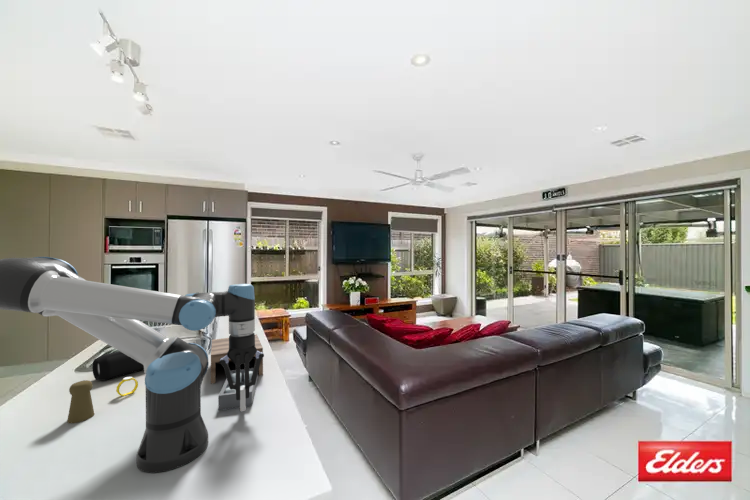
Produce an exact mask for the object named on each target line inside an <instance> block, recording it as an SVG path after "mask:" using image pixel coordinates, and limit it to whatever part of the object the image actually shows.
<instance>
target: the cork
mask: <svg viewBox="0 0 750 500" xmlns="http://www.w3.org/2000/svg"><path fill="white" fill-rule="evenodd" d="M93 386H94V385H93V382H92V381H91V380H86V379H85V380H80V381H76V382H75V383H72V384H71V385H70V387H69V390H68V392H69V394H70V396H71V398H70V403H69V408H68V409H69V411H68V414H67V423H68V424H77V423H78V424H79V423H82V422H84V421H87V420H88V421H89V419H91V418H93V417H94V416H95V411H94V410H95V409H94V405H93V399H92V394H91V393H92V392H91V391H92V389H93Z"/></svg>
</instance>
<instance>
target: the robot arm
mask: <svg viewBox="0 0 750 500" xmlns="http://www.w3.org/2000/svg"><path fill="white" fill-rule="evenodd" d="M78 273H79V272H78V271H77V270H76V268H75V267H74V266H73V265H72V264H70V263H69V262H67V261H65V260H63V259H60V258H55V257H49V256H35V257H9V258H8V257H7V258H1V259H0V310H2V311H3V310H5V311H15V312H24V313H32V314H33V313H34V314H39V315H41V316H43V317H54V316H57V317H59V318H61V319H63V320H65V321H66V322H68V323H69V324H71V325H73V326H74V327H77V328H78V329H80V330H82V331H83V332H85V333H87V334H89V335H91V336H93V337H94V338H96V339H98V340H100V341H101V342H103V343H104V344H107V345H108V346H109V347H112V348H113V349H115V350H117V351H120V352H122V353H124V354H126V355H127V356H129V357H131V358H133V359H134V360H136V361H138V362H140V363H141V364H143V365H144V370H143V373H144V374H145V377H144V385H145V431H144V433H143V436H142V438H141V441H140V443H139V448H138V450H137V452H136V453H137V454H136V467H137V468H138V470H140V471H141V472H144V473H162V472H167V471H171V470H174V469H177V468H180V467H182V466H184V465H187V464H189V463H191V462H192V461H194V460H195V459H197V458H199V456H201V455H202V454H203V453H205V451H206V449H207V447H208V445H209V431H208V428H207V427H206V424H205V422H204V419H203V417H202V415H201V413H202V412H201V411H202V410H201V408H202V407H201V405H202V403H201V402H202V401H201V400H202V399H201V398H202V397H201V389H202V383H203V381H204V378H205V376H206V374H207V371H208V368H209V363H210V361H209V356H208V352H207V351H206V349H205V348H204V347H203V346H202V345H200V344H198V343H194V342H187V341H185V340H183V339H182V338H180V337H178V336H173V337H172V336H171V337H167V336H165V335H164V334H162V333H161V332H159V331H157V330H156V329H154V328H153V327H151V326H150V325H148V324H145V323H144V322H151V323H158V324H159V323H160V324H169V325H176V326H182V327H184V328H185V329H187V330H189V331H195V332H196V331H201V330H203V329H206V327H208V326H209V325H210V324H212V322H213V321H214V319H215V318H218V317H227V316H228V334H229V335H228V338H229V350H228V352H227V355H226V356H225V357H223V358H220V364H219V365H221V367H223V369H224V373H225V374H224V375H225V376H226V379H227V381H228V384H229V388H230V389H231V390H232V389H235V390H236V400H240V408H239V410H240V412H244V411H245V412H246V409H247V408H246V398H249V388H250V386H252V385H255V383H256V379H257V375H258V376H259V373H258V371H259V366H260V362H261V360H262V358H263V359H264V357H265V354H264V351H263V352H259V351H257V349H256V347H255V335H256V333H255V331H256V328H255V327H256V325H255V324H256V322H255V321H256V320H255V318H256V317H255V315H256V314H255V313H256V307H255V304H256V301H255V300H256V298H255V296H256V295H255V286H254V285H252V284H251V283H237V284H236V283H234V284H230V285H229V286H228V287H227V288H228V289H227V290H226V291H215V292H214V291H213V292H211V291H210V292H194V293H186V294H185V295H184V294H183V295H182V294H176V293H169V292H164V291H163V292H162V291H157V290H152V289H151V290H150V289H144V288H137V287H131V286H125V285H119V284H118V285H117V284H111V283H106V282H98V281H93V280H92V281H91V280H86V279H85V278H84V277H82V276H81V275H78ZM143 321H144V322H143ZM255 354H256V356H255V357H256V361H254V366H253V368H254V369H253V373H252V378H251V380H250V381H249V369H250V362H251V361H252V360H253V359H252V358H253V357H254V355H255ZM229 358H230V359H231V361H232V362H231V363H233V364H234V365H235V370H236V384H235V383H233V380H232V376H231V373H230V371H231V369H230V367H229V363H230V362H229V360H228V359H229ZM241 365H243V366H244V369H245V386H242V387H240V369H241Z"/></svg>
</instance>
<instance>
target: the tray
mask: <svg viewBox="0 0 750 500" xmlns="http://www.w3.org/2000/svg"><path fill="white" fill-rule="evenodd" d="M253 369H254V367H251V368H250V367H249V381H250V380H251V378H252V373H253ZM230 373H231V376H232V380H233V383H235V384H236V369H233V370H231V369H230ZM258 380H259V374H258V375H257V379H256V383H255V385H252V386H250V388H249V398H246V407H251V406H253V403H254V397H255V395H256V394H255V393H256V390H257V385H258ZM242 386H245V368H244V369H243V368H242V369H241V368H240V387H242ZM217 397H218V399H217V403H218V405H217V408H218V409H217V410H218V411H223V410H231V409H238V408H239V409H240V400H236V390H235V389H232V390H231V389H230V388H229V384H228V381H227V378H226V379H225V381H224V383H223V386H222V387H221V389H220V391H219V394H218V396H217Z"/></svg>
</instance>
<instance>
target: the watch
mask: <svg viewBox="0 0 750 500" xmlns="http://www.w3.org/2000/svg"><path fill="white" fill-rule="evenodd" d="M132 380H133V381H134V383H135V385H134V387H133V389H132V390H131V391H130V392H125V393H123V394H122V393H121V392H120V387H121V385H122V384H123V383H124V382H129V381H132ZM138 386H139V382H138V380H137V379H136V378H135V377H133V376H126V377H123V378H122V380H121V381H120V382H119V383H118V384H117V386H116V394H118V395H119V396H121V397H124V396H125V397H126V396H128V395H132V394H133V393H135V392H136V391H137V390H138Z"/></svg>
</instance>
